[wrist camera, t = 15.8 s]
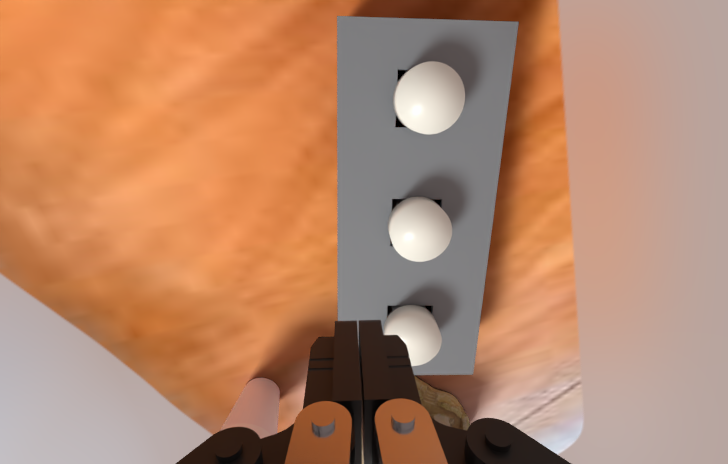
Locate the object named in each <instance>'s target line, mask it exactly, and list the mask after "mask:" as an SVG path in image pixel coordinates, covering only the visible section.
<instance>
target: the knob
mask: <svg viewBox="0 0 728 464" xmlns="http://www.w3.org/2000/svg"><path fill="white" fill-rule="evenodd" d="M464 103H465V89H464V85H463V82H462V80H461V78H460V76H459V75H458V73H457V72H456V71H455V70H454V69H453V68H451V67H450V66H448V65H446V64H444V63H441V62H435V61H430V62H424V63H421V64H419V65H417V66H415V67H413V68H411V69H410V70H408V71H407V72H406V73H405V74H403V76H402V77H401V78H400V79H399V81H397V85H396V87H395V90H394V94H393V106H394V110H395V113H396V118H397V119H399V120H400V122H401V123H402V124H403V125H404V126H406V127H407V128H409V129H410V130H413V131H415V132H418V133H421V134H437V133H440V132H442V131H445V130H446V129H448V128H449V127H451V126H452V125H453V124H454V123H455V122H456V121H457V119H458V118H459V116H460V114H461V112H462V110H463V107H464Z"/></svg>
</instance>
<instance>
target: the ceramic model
mask: <svg viewBox="0 0 728 464" xmlns="http://www.w3.org/2000/svg"><path fill="white" fill-rule="evenodd" d="M414 377H415V381H416V385H417V389H418V393H419V396H420V400H421V404H422V406H423V407H424V408H425V409H426V410H427V411H428V413H429V415H430V417H431V418H433V419H434V420H436V421H437V422H439V423H441V424H444V425H446V426H450V427H454V428H458V429H462V430H466V431H467V429H468V428H469V426H470V423H469V418H468V416H467V415H466V413H465V412H464V410H463V407H462V406H461V404H460V403H459V402H458V400H457V399H456V398H455V397H454V396H453V395H451V394H450V393H447V392H444V391H440V390H437V389H434V388H432V387H431V386H430V385H428V384H427V383H424V382H423V381H421V380H420V379H418V378H417V377H416V376H414ZM362 464H364V456H363V439H362Z"/></svg>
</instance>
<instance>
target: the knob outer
mask: <svg viewBox="0 0 728 464" xmlns="http://www.w3.org/2000/svg"><path fill="white" fill-rule="evenodd" d="M384 335H398V336H399V337H400V338H401V339H402V340H403V341H404V343H405V344H406V345H407V349H408V353H409V358H410V361H411V366H418V365H422V364H425V363H427V362H429V361H430V360H432V359H433V358H434V357H435V356H436V355H437V353H438V352H439V350H440V347H441V343H442V337H441V333H440V331H439V328H438V326H437V323H436V321H435V319H434V316H433V315H432V314H431V313H430V312H429V311H428V310H427V309H426V307H425V306H417V305H405V306H388V307H387V319H386V321H385V323H384Z"/></svg>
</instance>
